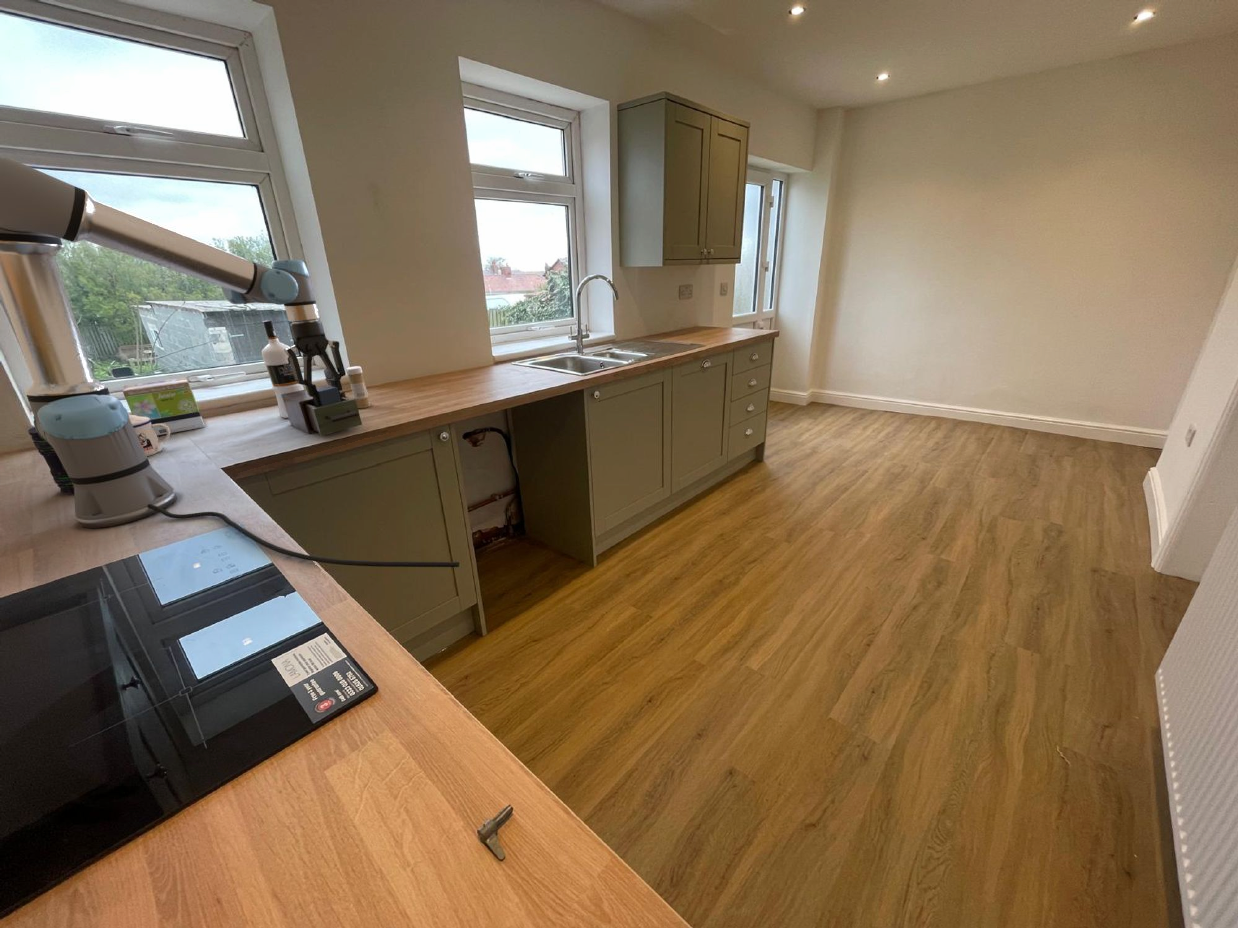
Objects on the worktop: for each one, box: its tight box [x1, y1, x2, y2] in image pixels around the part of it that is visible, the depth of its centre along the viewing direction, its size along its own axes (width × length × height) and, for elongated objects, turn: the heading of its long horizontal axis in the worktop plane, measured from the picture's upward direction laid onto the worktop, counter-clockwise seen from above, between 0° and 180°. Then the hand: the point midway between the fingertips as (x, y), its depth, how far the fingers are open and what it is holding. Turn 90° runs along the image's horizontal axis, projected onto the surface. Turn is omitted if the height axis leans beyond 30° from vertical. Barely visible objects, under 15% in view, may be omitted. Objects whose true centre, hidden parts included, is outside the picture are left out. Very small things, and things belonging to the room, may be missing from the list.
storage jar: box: [27, 426, 74, 496], centre depth 114 cm, size 10×10×15 cm
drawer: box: [303, 396, 363, 437], centre depth 145 cm, size 18×11×8 cm, turn 49°
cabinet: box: [281, 384, 347, 435], centre depth 152 cm, size 15×13×10 cm
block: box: [317, 385, 341, 406], centre depth 143 cm, size 5×5×5 cm
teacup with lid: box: [128, 412, 171, 457], centre depth 134 cm, size 12×9×12 cm
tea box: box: [122, 376, 205, 436], centre depth 152 cm, size 15×10×15 cm, turn 131°
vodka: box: [261, 319, 305, 419], centre depth 158 cm, size 9×9×30 cm
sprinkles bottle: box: [345, 365, 371, 409], centre depth 167 cm, size 5×5×14 cm
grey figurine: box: [323, 367, 343, 391], centre depth 179 cm, size 6×6×12 cm
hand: (329, 404), depth 144 cm, fingers closed on block, 5 cm apart
